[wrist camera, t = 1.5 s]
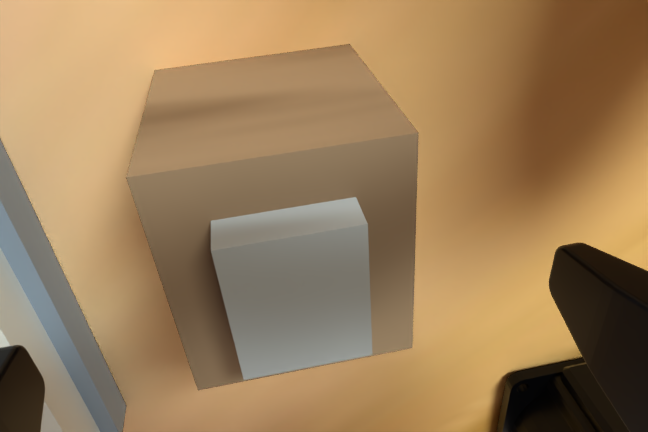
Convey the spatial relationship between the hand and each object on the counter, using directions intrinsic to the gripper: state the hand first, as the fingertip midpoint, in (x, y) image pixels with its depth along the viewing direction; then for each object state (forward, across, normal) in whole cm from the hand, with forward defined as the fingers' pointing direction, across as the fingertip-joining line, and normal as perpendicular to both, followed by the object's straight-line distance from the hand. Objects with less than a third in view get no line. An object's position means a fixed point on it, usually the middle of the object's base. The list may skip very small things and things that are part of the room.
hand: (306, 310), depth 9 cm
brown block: (+6, 0, 0) cm, 6 cm away
